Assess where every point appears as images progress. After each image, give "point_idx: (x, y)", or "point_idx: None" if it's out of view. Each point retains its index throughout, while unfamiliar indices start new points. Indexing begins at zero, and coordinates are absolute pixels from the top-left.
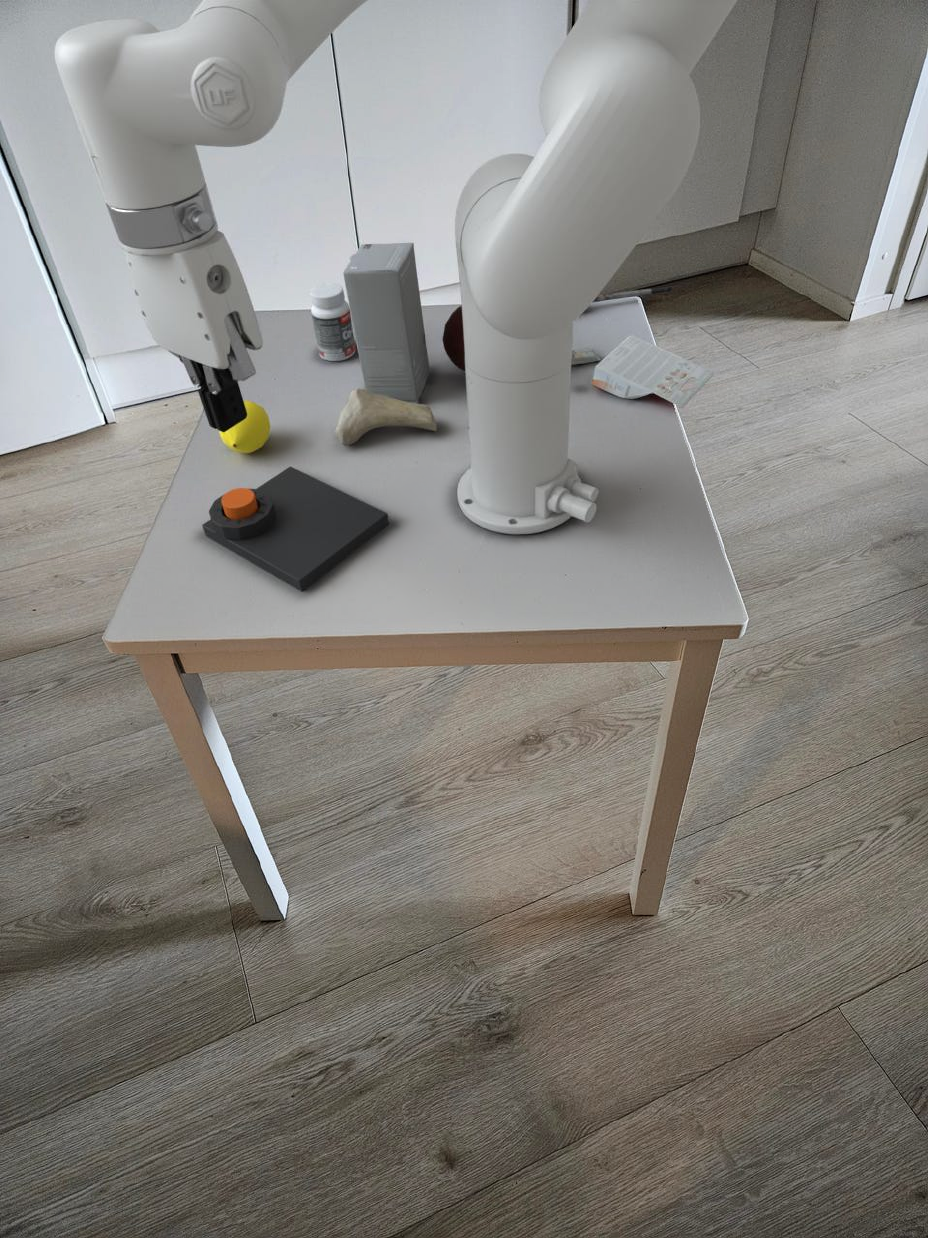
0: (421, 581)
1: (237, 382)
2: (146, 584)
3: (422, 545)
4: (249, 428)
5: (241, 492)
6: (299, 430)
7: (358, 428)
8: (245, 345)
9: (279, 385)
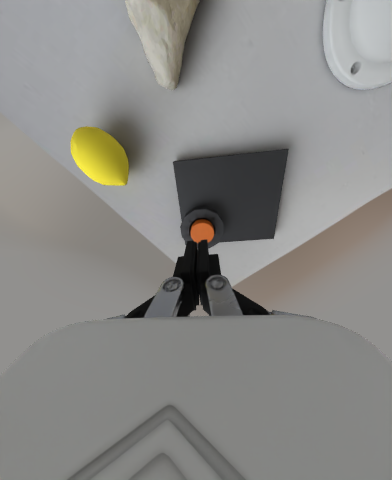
0: (338, 180)
1: (208, 267)
2: None
3: (321, 150)
4: (118, 165)
5: (199, 229)
6: (114, 102)
7: (181, 57)
8: (257, 315)
9: (9, 45)
